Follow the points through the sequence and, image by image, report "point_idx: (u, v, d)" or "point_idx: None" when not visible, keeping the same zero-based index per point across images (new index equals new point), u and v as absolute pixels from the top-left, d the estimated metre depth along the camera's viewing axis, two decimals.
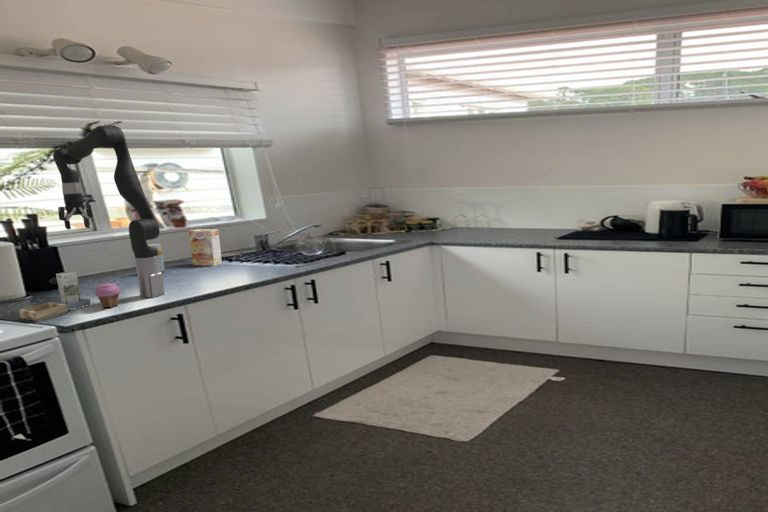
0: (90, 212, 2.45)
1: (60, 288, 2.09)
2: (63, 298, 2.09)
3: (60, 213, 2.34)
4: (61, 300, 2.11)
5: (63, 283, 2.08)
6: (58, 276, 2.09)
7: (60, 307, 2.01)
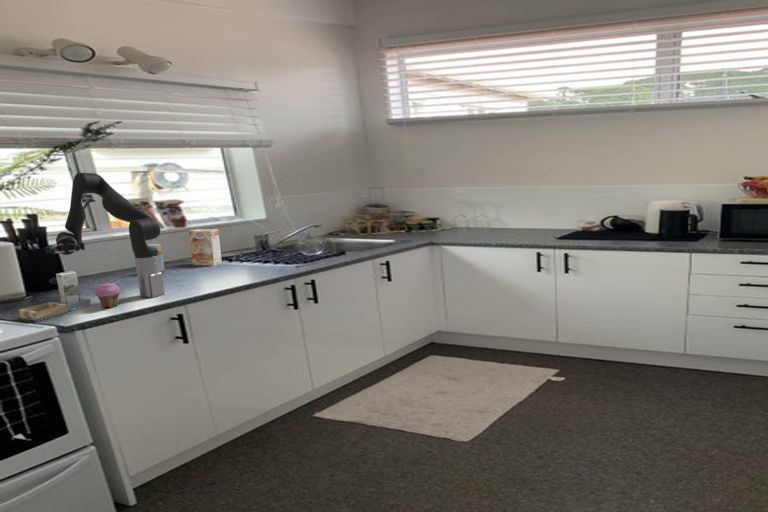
0: (82, 243, 2.27)
1: (60, 288, 2.09)
2: (63, 298, 2.09)
3: None
4: (61, 300, 2.11)
5: (63, 283, 2.08)
6: (58, 276, 2.09)
7: (60, 307, 2.01)
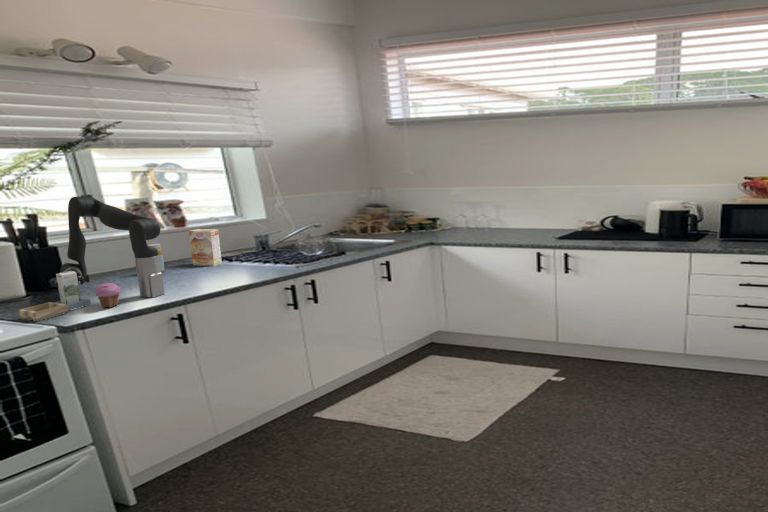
0: (86, 276, 2.26)
1: (60, 288, 2.09)
2: (63, 298, 2.09)
3: None
4: (61, 300, 2.11)
5: (63, 283, 2.08)
6: (58, 276, 2.09)
7: (60, 307, 2.01)
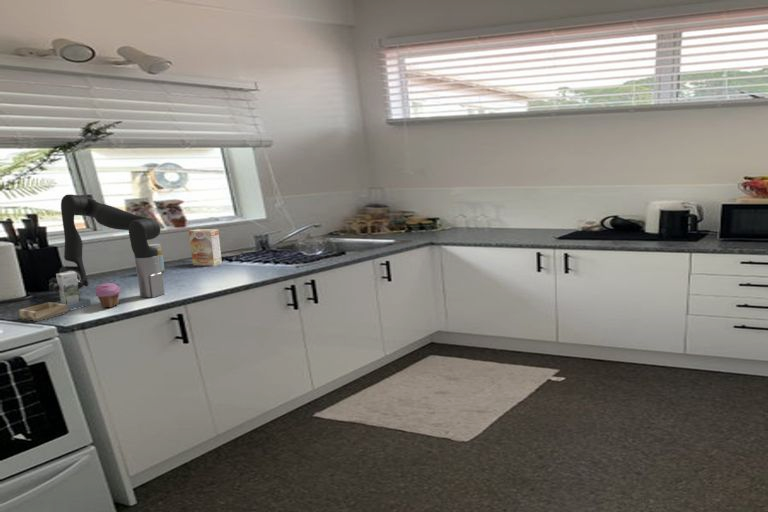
0: (85, 279, 2.18)
1: (60, 288, 2.09)
2: (63, 298, 2.09)
3: None
4: (61, 300, 2.11)
5: (63, 283, 2.08)
6: (58, 276, 2.09)
7: (60, 307, 2.01)
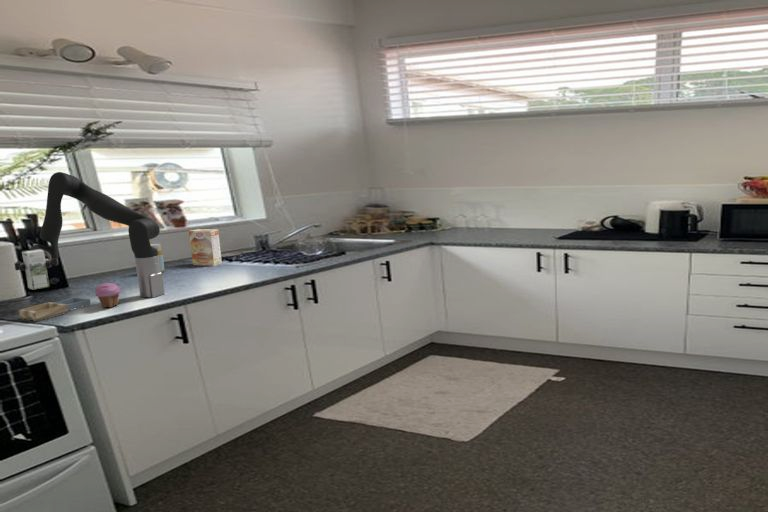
0: (54, 259, 2.05)
1: (26, 267, 1.96)
2: (29, 277, 1.96)
3: None
4: (27, 280, 1.98)
5: (29, 262, 1.94)
6: (24, 254, 1.96)
7: (60, 307, 2.01)
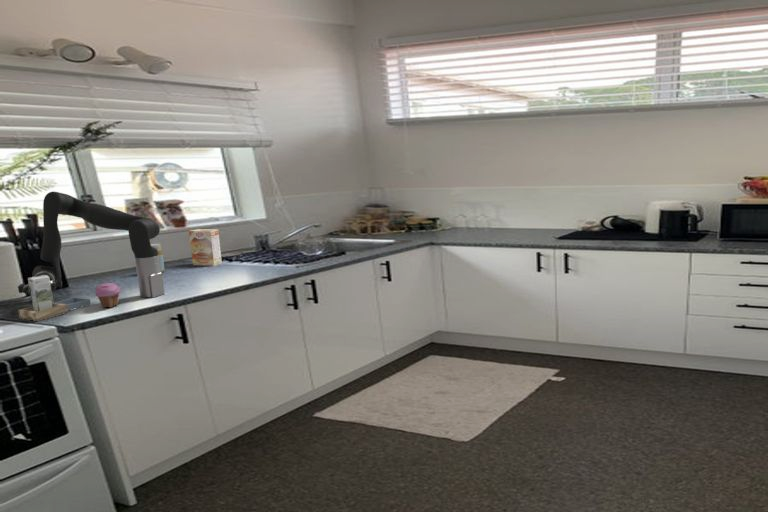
0: (59, 280, 2.07)
1: (32, 293, 1.98)
2: (35, 303, 1.98)
3: None
4: (33, 306, 2.00)
5: (35, 288, 1.96)
6: (30, 280, 1.97)
7: (60, 307, 2.01)
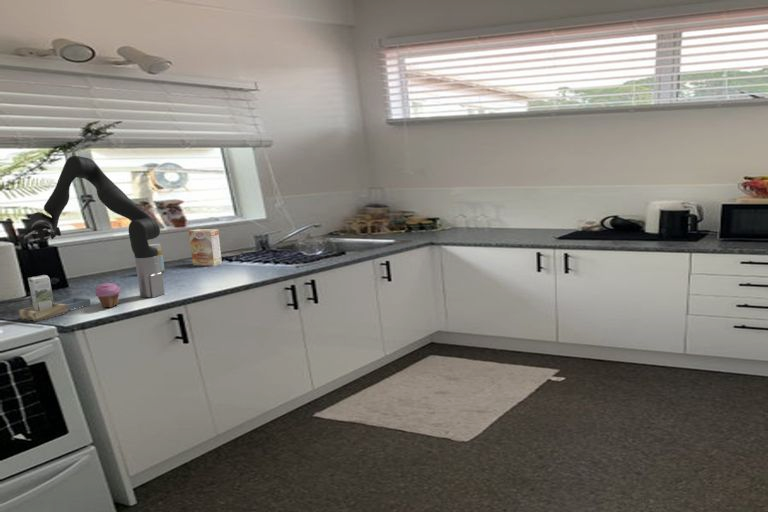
0: (57, 229, 2.15)
1: (32, 293, 1.98)
2: (35, 303, 1.98)
3: None
4: (33, 306, 2.00)
5: (35, 288, 1.96)
6: (30, 280, 1.97)
7: (60, 307, 2.01)
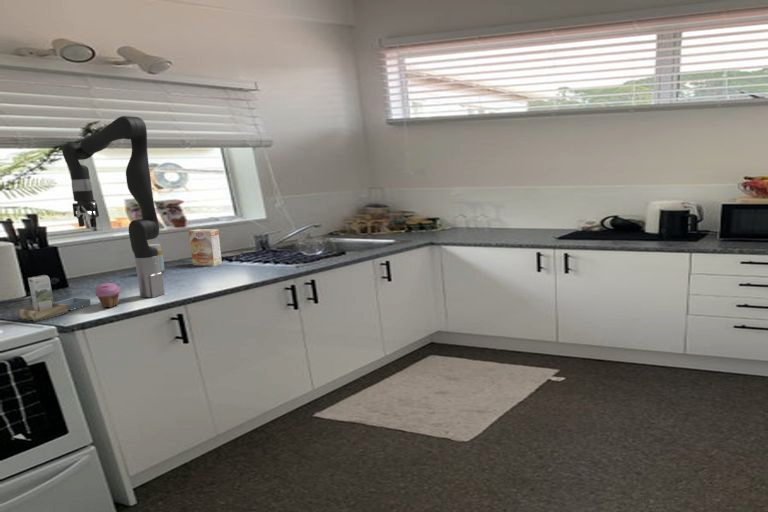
0: (91, 212, 2.26)
1: (32, 293, 1.98)
2: (35, 303, 1.98)
3: None
4: (33, 306, 2.00)
5: (35, 288, 1.96)
6: (30, 280, 1.97)
7: (60, 307, 2.01)
